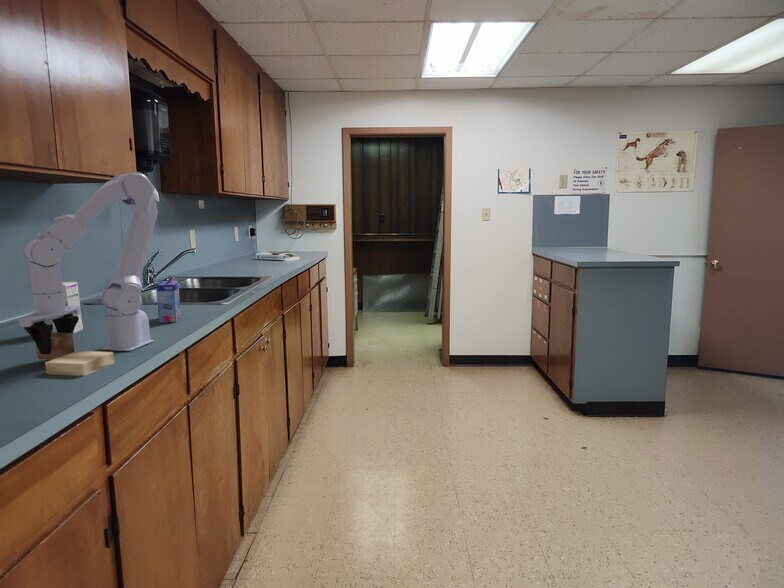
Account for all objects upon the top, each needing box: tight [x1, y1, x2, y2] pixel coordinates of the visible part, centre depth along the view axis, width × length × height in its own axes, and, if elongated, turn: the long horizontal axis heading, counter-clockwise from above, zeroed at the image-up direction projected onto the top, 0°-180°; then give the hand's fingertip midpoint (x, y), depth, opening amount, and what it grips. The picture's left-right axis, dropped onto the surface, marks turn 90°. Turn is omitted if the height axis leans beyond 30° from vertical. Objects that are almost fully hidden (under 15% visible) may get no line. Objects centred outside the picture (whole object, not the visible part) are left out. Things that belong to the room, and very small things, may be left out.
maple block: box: [44, 350, 115, 377], centre depth 106 cm, size 9×9×3 cm
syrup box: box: [49, 281, 84, 334], centre depth 137 cm, size 6×6×14 cm
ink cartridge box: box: [156, 274, 181, 324], centre depth 153 cm, size 10×6×14 cm, turn 17°
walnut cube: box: [35, 332, 76, 361], centre depth 111 cm, size 5×5×5 cm
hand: (55, 350), depth 111 cm, fingers closed on walnut cube, 5 cm apart
